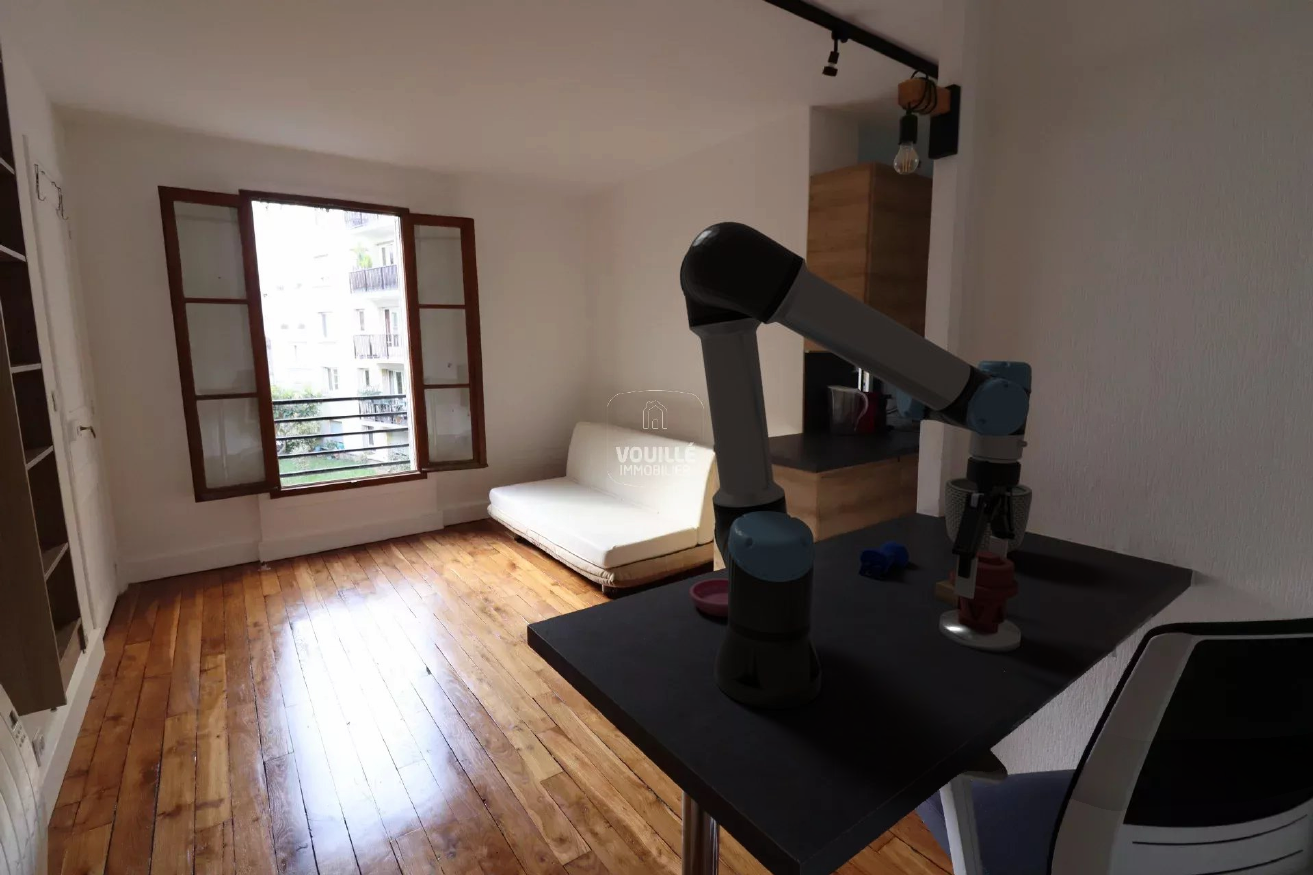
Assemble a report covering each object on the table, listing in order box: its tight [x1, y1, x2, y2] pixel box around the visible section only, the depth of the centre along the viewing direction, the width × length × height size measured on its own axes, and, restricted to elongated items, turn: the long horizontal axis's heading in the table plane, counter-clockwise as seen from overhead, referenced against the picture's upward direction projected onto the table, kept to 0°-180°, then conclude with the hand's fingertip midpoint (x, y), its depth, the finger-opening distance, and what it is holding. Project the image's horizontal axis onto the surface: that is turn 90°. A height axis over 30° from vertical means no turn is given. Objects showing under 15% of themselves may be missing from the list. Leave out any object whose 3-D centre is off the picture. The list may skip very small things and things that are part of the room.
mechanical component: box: [949, 550, 1020, 633], centre depth 101 cm, size 12×10×10 cm
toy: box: [858, 541, 910, 581], centre depth 131 cm, size 7×6×15 cm
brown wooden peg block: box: [934, 547, 967, 609], centre depth 114 cm, size 6×6×11 cm
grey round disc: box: [938, 609, 1022, 653], centre depth 102 cm, size 12×12×2 cm
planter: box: [944, 476, 1033, 554], centre depth 139 cm, size 17×17×16 cm
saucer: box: [689, 578, 728, 618], centre depth 113 cm, size 12×12×3 cm
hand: (979, 584), depth 101 cm, fingers open, 13 cm apart
